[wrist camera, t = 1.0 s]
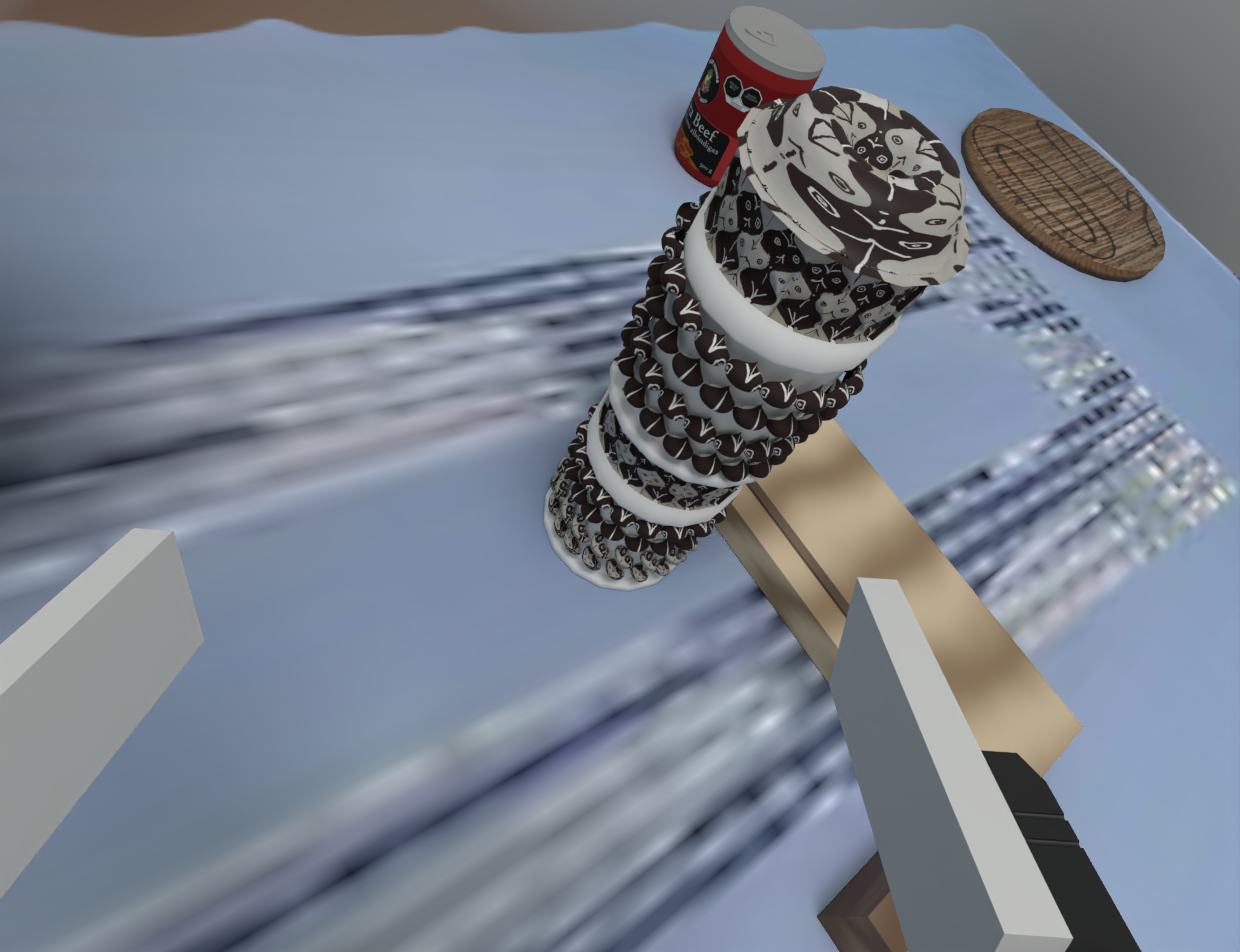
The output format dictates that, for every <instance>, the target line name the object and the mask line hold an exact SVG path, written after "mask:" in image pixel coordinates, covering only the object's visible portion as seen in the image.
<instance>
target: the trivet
mask: <svg viewBox="0 0 1240 952" xmlns="http://www.w3.org/2000/svg"><path fill="white" fill-rule="evenodd" d="M961 153H962V156H963V159H964V162H965V165H966V168H967V171H968V173H969V174H970V176H971V178H972V179H973V181H974V183H975V184H976V186H977V188H978V189H979V191H980V193H981V194H982V195H983V196H984V197H985V199H986V200H987V201H988V202H989V203H990V204H991V206H992V207H993V208H994V209H995V210H996V212H997V213H998V214H999V215H1000V216H1001V217H1002V218H1003V219H1004V220H1005V221H1006V222H1007V223H1009V224H1010V225H1011V226H1012V227H1013V228H1014V229H1015V230H1016V231H1017V232H1019V233H1020V234H1021V235H1022V236H1023V237H1024V238H1025V239H1027V240H1028V241H1030V242H1031V243H1032V244H1034V245H1035V246H1037V247H1038V248H1040V249H1041V250H1042V251H1044V252H1045V253H1047V254H1048V255H1049V256H1051V257H1053V258H1054V259H1056V260H1058V261H1060V262H1062V263H1064V264H1066V265H1068V266H1070V267H1072V268H1073V269H1075V270H1077V271H1079V272H1082V273H1085V274H1088V275H1091V276H1094V277H1097V278H1100V279H1103V280H1109V281H1118V282H1128V281H1132V280H1137V279H1141V278H1142V277H1143V276H1145V275H1146V274H1147V273H1148V272H1150V271H1151V270H1152V269H1153V268H1155V267H1156V266H1157V265H1158V264H1159V262H1160V261H1161V260H1162V259H1163V257H1164V251H1165V241H1164V237H1163V233H1162V229H1161V226H1160V224H1159V222H1158V220H1157V218H1156V217H1155V215H1154V213H1153V211H1152V209H1151V207H1150V206H1149V205H1148V203H1147V202H1146V201H1145V199H1144V198H1143V197H1142V195H1141V194H1140V193H1139V191H1138V190H1137V189H1136V188H1135V187H1134V185H1133V184H1132V183H1131V182H1130V181H1129V180H1128V179H1127V178H1126V177H1125V176H1124V175H1123V174H1122V173H1121V172H1120V171H1119V170H1118V169H1117V168H1116V167H1115V166H1114V165H1113V164H1111V163H1110V162H1109V161H1108V160H1107V159H1106V158H1104V157H1103V156H1102V155H1101V154H1100V153H1099V152H1097V151H1096V150H1095V149H1093V148H1092V147H1090V146H1089V145H1088V144H1086V143H1085V142H1083V141H1082V140H1080V139H1079V138H1077V137H1076V136H1075V135H1073V134H1071V133H1070V132H1068V131H1066V130H1064V129H1062V128H1060V127H1059V126H1057V125H1055V124H1053V123H1051V122H1049V121H1047V120H1044V119H1042V118H1039V117H1037V116H1034V115H1032V114H1030V113H1026V112H1022V111H1018V110H1013V109H1009V108H992V109H989V110H986V111H984V112H982V113H979V114H978V115H977V116H976V118H975V119H974V120H973V121H972V123H971V124H970V125H969V126H968V128H967V129H966V131H965V132H964V134H963V136H962V142H961Z"/></svg>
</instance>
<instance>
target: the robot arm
mask: <svg viewBox="0 0 1240 952" xmlns="http://www.w3.org/2000/svg"><path fill="white" fill-rule="evenodd" d="M203 642H204V638H203V635H202V631H201V628H200V624H199V621H198V617H197V613H196V610H195V606H194V603H193V599H192V596H191V592H190V588H189V585H188V581H187V578H186V574H185V571H184V567H183V563H182V560H181V556H180V553H179V549H178V546H177V542H176V538H175V535H174V531H171V530H156V529H141V528H133V529H132V530H131V531H130V532H128V533H127V534H126V535H125V536H124V537H123V538H122V539H120V540H119V541H118V542H117V543H116V544H115V545H114V546H112V547H111V548H110V549H109V550H108V551H107V552H106V553H104V554H103V555H102V556H101V557H100V558H99V559H98V560H96V561H95V562H94V563H93V564H92V565H91V566H90V567H88V568H87V569H86V570H85V571H84V572H83V573H82V574H80V575H79V576H78V577H77V578H76V579H75V580H74V581H72V582H71V583H70V584H69V585H68V586H67V587H66V588H64V589H63V590H62V591H61V592H60V593H59V594H58V595H56V596H55V597H54V598H53V599H52V600H51V601H50V602H48V603H47V604H46V605H45V606H44V607H43V608H42V609H40V610H39V611H38V612H37V613H36V614H35V615H34V616H32V617H31V618H30V619H29V620H28V621H27V622H26V623H24V624H23V625H22V626H21V627H20V628H19V629H18V630H16V631H15V632H14V633H13V634H12V635H11V636H10V637H8V638H7V639H6V640H5V641H4V642H3V643H2V644H0V899H1V898H2V897H3V895H4V894H5V893H6V892H7V890H8V889H9V888H10V886H11V885H12V884H13V883H14V881H15V880H16V879H17V878H18V876H19V875H20V874H21V873H22V871H23V870H24V869H25V867H26V866H27V865H28V864H29V862H30V861H31V860H32V859H33V857H34V856H35V855H36V854H37V852H38V851H39V850H40V848H41V847H42V846H43V845H44V843H45V842H46V841H47V840H48V838H49V837H50V836H51V835H52V833H53V832H54V831H55V829H56V828H57V827H58V826H59V824H60V823H61V822H62V821H63V819H64V818H65V817H66V816H67V814H68V813H69V812H70V810H71V809H72V808H73V807H74V805H75V804H76V803H77V802H78V800H79V799H80V798H81V797H82V795H83V794H84V793H85V791H86V790H87V789H88V788H89V786H90V785H91V784H92V783H93V781H94V780H95V779H96V778H97V776H98V775H99V774H100V772H101V771H102V770H103V769H104V767H105V766H106V765H107V764H108V762H109V761H110V760H111V759H112V757H113V756H114V755H115V753H116V752H117V751H118V750H119V748H120V747H121V746H122V745H123V743H124V742H125V741H126V740H127V738H128V737H129V736H130V734H131V733H132V732H133V731H134V729H135V728H136V727H137V726H138V724H139V723H140V722H141V721H142V719H143V718H144V717H145V715H146V714H147V713H148V712H149V710H150V709H151V708H152V707H153V705H154V704H155V703H156V702H157V700H158V699H159V698H160V696H161V695H162V694H163V693H164V691H165V690H166V689H167V688H168V686H169V685H170V684H171V683H172V681H173V680H174V679H175V677H176V676H177V675H178V674H179V672H180V671H181V670H182V669H183V667H184V666H185V665H186V664H187V662H188V661H189V660H190V658H191V657H192V656H193V655H194V653H195V652H196V651H197V650H198V648H199V647H200V646H201V645H202V643H203ZM829 685H830V689H831V692H832V695H833V699H834V702H835V706H836V709H837V712H838V716H839V719H840V722H841V726H842V729H843V733H844V736H845V739H846V743H847V746H848V750H849V753H850V756H851V760H852V763H853V767H854V770H855V773H856V777H857V780H858V784H859V787H860V790H861V794H862V797H863V800H864V804H865V807H866V811H867V814H868V817H869V821H870V824H871V828H872V831H873V834H874V838H875V841H876V845H877V848H878V851H879V855H880V858H881V862H882V865H883V868H884V872H885V875H886V878H887V882H888V885H889V889H890V892H891V895H892V899H893V902H894V906H895V909H896V912H897V916H898V919H899V923H900V926H901V929H902V933H903V936H904V940H905V943H906V946H907V950H908V952H1141V950H1140V949H1139V947H1138V945H1137V943H1136V941H1135V940H1134V938H1133V936H1132V934H1131V932H1130V931H1129V929H1128V927H1127V925H1126V924H1125V922H1124V920H1123V918H1122V916H1121V915H1120V913H1119V911H1118V909H1117V908H1116V906H1115V904H1114V902H1113V900H1112V899H1111V897H1110V895H1109V893H1108V892H1107V890H1106V888H1105V886H1104V884H1103V883H1102V881H1101V879H1100V877H1099V875H1098V874H1097V872H1096V870H1095V868H1094V867H1093V865H1092V863H1091V861H1090V859H1089V858H1088V856H1087V854H1086V852H1085V851H1084V849H1083V848H1080V846H1079V840H1078V838H1077V836H1076V835H1075V833H1074V831H1073V829H1072V827H1071V826H1070V824H1069V822H1068V821H1065V819H1064V813H1063V811H1062V810H1061V808H1060V806H1059V804H1058V802H1057V801H1056V799H1055V797H1054V795H1053V794H1052V792H1051V790H1050V788H1049V786H1048V785H1047V783H1046V781H1045V780H1044V779H1043V778H1042V777H1041V776H1040V775H1039V774H1038V773H1037V772H1036V771H1035V770H1034V769H1033V768H1032V767H1031V766H1030V765H1029V764H1028V763H1027V762H1026V761H1025V760H1024V759H1023V758H1022V757H1021V756H1020V755H1019V754H1018V753H1012V752H997V751H983V750H980V748H979V745H978V743H977V741H976V739H975V737H974V735H973V733H972V731H971V729H970V727H969V725H968V723H967V721H966V719H965V717H964V715H963V713H962V711H961V709H960V707H959V705H958V703H957V701H956V699H955V697H954V695H953V693H952V691H951V688H950V686H949V684H948V682H947V680H946V678H945V676H944V674H943V672H942V670H941V668H940V666H939V664H938V662H937V660H936V658H935V656H934V654H933V652H932V650H931V648H930V646H929V644H928V642H927V640H926V638H925V636H924V633H923V631H922V629H921V627H920V625H919V623H918V621H917V619H916V617H915V615H914V613H913V611H912V609H911V607H910V605H909V603H908V601H907V599H906V597H905V595H904V593H903V591H902V589H901V587H900V585H899V583H898V581H897V580H892V579H877V578H862V577H857V579H856V583H855V587H854V591H853V595H852V598H851V602H850V606H849V610H848V614H847V618H846V621H845V625H844V629H843V633H842V637H841V640H840V644H839V648H838V652H837V656H836V660H835V663H834V667H833V671H832V675H831V679H830V682H829Z"/></svg>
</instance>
